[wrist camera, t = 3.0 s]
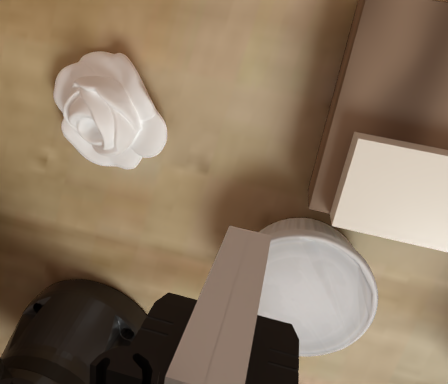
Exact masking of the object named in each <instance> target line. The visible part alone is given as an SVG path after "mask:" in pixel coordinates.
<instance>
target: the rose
mask: <svg viewBox="0 0 448 384" xmlns="http://www.w3.org/2000/svg"><path fill="white" fill-rule="evenodd" d="M53 96H54V100H55V103H56V105H57V106H58V108H59V109H60V110H61V111H62V112H63V116H64V119H63V121H62V125H61V129H62V132H63V134H64V136H65V137H66V139H67V140H68V141H69V142H70V143H71V144H72V145H73V146H74V147H75V148H76V149H77V151H78V152H79V153H80V154H81V155H82V156H83V157H85V158H86V159H87V160H89V161H91V162H92V163H95V164H97V165H101V166H117V167H120V168H123V169H133V168H135V167H136V166H137V165H138V164H139V162H140V161H141V159H142V158H143V157H144V158H150V157H154V156H156V155H158V154H159V153H160V152H161V151H162V150H163V148H164V146H165V144H166V142H167V127H166V124H165V121H164V119H163V118H162V116H161V115H160V113H159V112H158V111H157V110H156V108H155V106H154V104H153V102H152V100H151V98H150V96H149V94H148V92H147V90H146V88H145V86H144V84H143V82H142V79H141V77H140V75H139V73H138V71H137V70H136V68H135V67H134V65H133V63H132V62H131V61H130V59H129V58H128V57H127V56H126V55H124V54H122V53H116V54H112V53H109V52H104V51H96V52H91V53H88V54H85V55H84V56H83V57H81V59H80V60H79V62H77V63H74V64H71V65H69V66H66V67H64V68H63V69H62V70H61V71H60V72H59V74H58V75H57V77H56V80H55V88H54V93H53Z"/></svg>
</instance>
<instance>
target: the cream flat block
mask: <svg viewBox="0 0 448 384" xmlns="http://www.w3.org/2000/svg"><path fill="white" fill-rule="evenodd" d="M330 218H331V224H332V226H334V227H338V228H343V229H347V230H352V231H356V232H360V233H365V234H369V235H374V236H378V237H382V238H387V239H391V240H396V241H400V242H404V243H409V244H413V245H418V246H422V247H426V248H431V249H435V250H440V251H444V252H448V150H445V149H440V148H435V147H430V146H425V145H420V144H415V143H410V142H405V141H399V140H394V139H389V138H384V137H379V136H374V135H369V134H364V133H359V132H354V134H353V138H352V141H351V144H350V148H349V151H348V154H347V158H346V161H345V164H344V168H343V171H342V174H341V178H340V181H339V185H338V188H337V191H336V195H335V198H334V201H333V205H332V208H331V211H330Z"/></svg>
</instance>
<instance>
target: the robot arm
mask: <svg viewBox="0 0 448 384" xmlns="http://www.w3.org/2000/svg"><path fill="white" fill-rule="evenodd" d="M271 236H272V235H268V234H263V233H259V232H255V231H251V230H247V229H242V228H238V227H234V226H230V225H229V228H228V230H227V232H226V235H225V237H224V239H223V242H222V244H221V246H220V249H219V251H218V253H217V256H216V258H215V260H214V263H213V265H212V268H211V270H210V272H209V275H208V277H207V279H206V282H205V284H204V286H203V289H202V291H201V293H200V296H199V298H198V300H195V299H191V298H187V297H183V296H180V295H176V294H172V293H167V294H166V295H164V296H163V297H162V298H160V299H159V300H157V301H156V302H155V303H154V305H153V306H152V308H151V310H150V312H149V313H148V315H146V314H145V313H144V312H143V311H142V310H141V308H140V307H139V306H138V305H137V304H135V303H134V302H133V301H132V300H131V299H129V298H128V297H127V296H125V295H124V294H122V293H121V292H119V291H117V290H115V289H113V288H111V287H109V286H106V285H104V284H101V283H98V282H94V281H88V280H77V279H76V280H66V281H61V282H58V283H55V284H53V285H51V286H49V287H48V288H46V289H45V290H44V291H43V292H42V293H41V294H40V295H39V296H37V297H36V298H35V299H34V300H33V301H32V302H31V303H30V304H29V305H28V307H27V308H26V309H25V311H24V312H23V314H22V316H21V318H20V320H19V322H18V324H17V326H16V328H15V330H14V332H13V334H12V336H11V338H10V340H9V342H8V344H7V346H6V348H5V350H4V352H3V354H2V356H1V358H0V384H298V375H299V373H298V370H299V359H298V358H299V338H298V336H297V334H296V332H295V330H294V327H293V325H292V324H290V323H286V322H282V321H278V320H275V319H271V318H267V317H263V316H260V315H257V314H258V308H259V303H260V297H261V292H262V286H263V281H264V275H265V270H266V264H267V259H268V253H269V247H270V242H271Z"/></svg>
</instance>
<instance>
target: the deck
mask: <svg viewBox="0 0 448 384" xmlns="http://www.w3.org/2000/svg"><path fill="white" fill-rule="evenodd" d="M354 132H359V133H364V134H369V135H374V136H379V137H384V138H389V139H394V140H399V141H405V142H410V143H415V144H420V145H425V146H430V147H435V148H440V149H445V150H448V3H447V2H440V1H434V0H358V4H357V7H356V11H355V15H354V19H353V22H352V26H351V30H350V34H349V37H348V41H347V45H346V49H345V52H344V56H343V60H342V64H341V68H340V71H339V75H338V79H337V83H336V86H335V90H334V94H333V98H332V101H331V105H330V109H329V113H328V117H327V120H326V124H325V128H324V132H323V135H322V139H321V143H320V147H319V150H318V154H317V158H316V162H315V165H314V169H313V173H312V177H311V181H310V184H309V188H308V201H309V209H311V210H315V211H320V212H324V213H329V214H330V211H331V208H332V205H333V201H334V198H335V195H336V191H337V188H338V185H339V181H340V178H341V174H342V171H343V168H344V164H345V161H346V158H347V154H348V151H349V148H350V144H351V141H352V138H353V134H354Z"/></svg>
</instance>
